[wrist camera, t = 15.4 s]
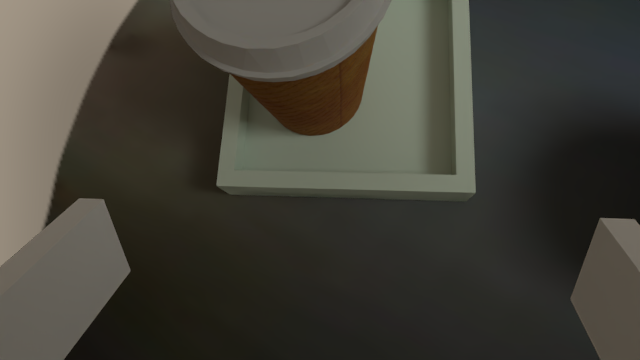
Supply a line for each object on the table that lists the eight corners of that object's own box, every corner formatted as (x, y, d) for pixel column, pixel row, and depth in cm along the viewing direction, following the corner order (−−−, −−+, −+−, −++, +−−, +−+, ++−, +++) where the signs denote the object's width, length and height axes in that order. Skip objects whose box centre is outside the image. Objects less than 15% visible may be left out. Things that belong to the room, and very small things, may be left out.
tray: (459, -10, 29) (467, -36, 26) (465, 201, 25) (475, 192, 23) (251, -2, 31) (241, -26, 28) (230, 194, 27) (216, 185, 25)
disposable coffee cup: (240, 41, 29) (151, -121, 17) (376, 16, 28) (377, -172, 16) (250, 171, 26) (155, 82, 15) (399, 148, 26) (421, 35, 14)
